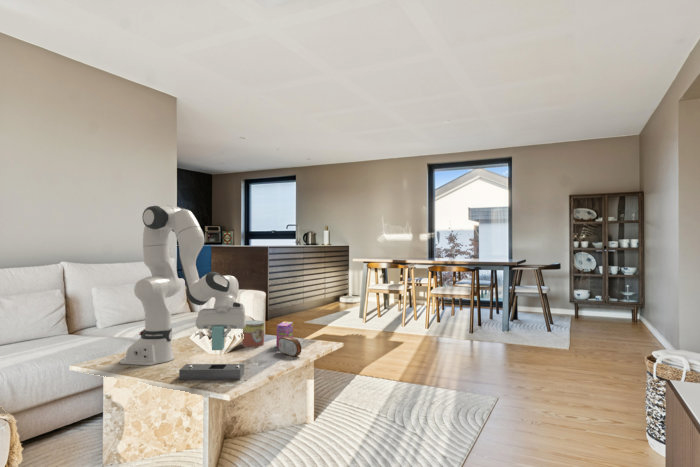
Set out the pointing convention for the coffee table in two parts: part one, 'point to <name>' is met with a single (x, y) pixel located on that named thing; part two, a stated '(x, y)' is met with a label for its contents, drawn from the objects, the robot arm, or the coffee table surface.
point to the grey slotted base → (211, 372)
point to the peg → (217, 338)
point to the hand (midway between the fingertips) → (217, 336)
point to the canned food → (253, 333)
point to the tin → (289, 346)
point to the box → (284, 331)
